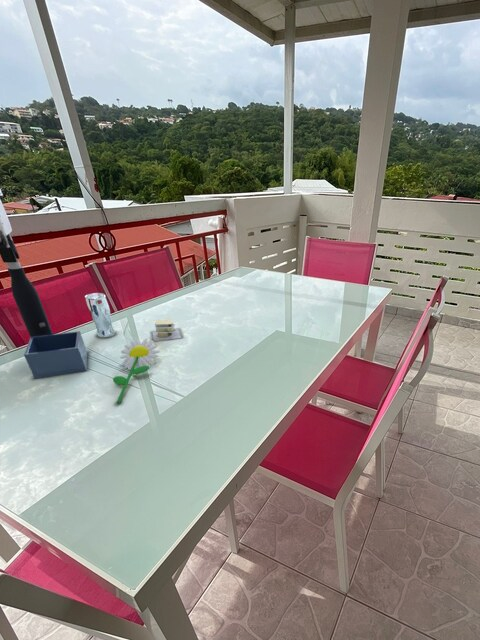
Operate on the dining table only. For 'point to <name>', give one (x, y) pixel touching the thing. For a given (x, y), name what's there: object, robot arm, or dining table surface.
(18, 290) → the wine bottle
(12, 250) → the robot arm
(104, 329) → the beer glass
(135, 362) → the decorative flower
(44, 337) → the blue grey open box
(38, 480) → the dining table surface
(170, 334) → the stacked layers on plate
